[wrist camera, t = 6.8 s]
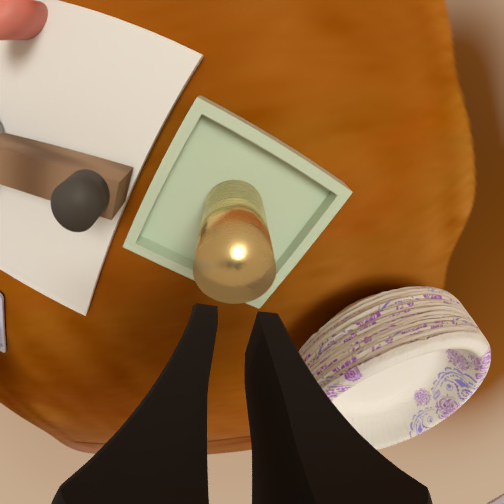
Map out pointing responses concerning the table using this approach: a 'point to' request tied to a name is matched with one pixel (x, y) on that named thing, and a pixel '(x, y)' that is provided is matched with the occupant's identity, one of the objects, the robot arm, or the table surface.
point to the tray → (232, 168)
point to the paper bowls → (398, 361)
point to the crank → (64, 180)
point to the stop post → (21, 19)
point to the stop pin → (234, 245)
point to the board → (81, 131)
